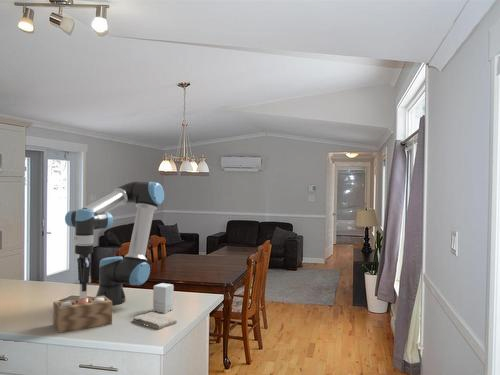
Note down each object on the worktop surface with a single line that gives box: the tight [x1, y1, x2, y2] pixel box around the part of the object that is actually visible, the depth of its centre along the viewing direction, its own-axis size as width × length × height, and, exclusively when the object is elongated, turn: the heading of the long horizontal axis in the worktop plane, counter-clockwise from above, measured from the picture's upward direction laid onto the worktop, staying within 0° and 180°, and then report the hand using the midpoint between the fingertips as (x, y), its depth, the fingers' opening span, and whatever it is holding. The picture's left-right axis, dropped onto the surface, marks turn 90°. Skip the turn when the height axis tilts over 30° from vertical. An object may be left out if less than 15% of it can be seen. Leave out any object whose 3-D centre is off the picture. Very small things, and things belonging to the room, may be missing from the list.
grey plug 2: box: [94, 298, 104, 302], centre depth 204 cm, size 4×4×9 cm
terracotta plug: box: [77, 297, 89, 304], centre depth 200 cm, size 4×4×9 cm
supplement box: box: [152, 282, 175, 314], centre depth 224 cm, size 7×7×13 cm
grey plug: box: [61, 302, 72, 306], centre depth 196 cm, size 4×4×9 cm
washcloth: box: [132, 311, 178, 330], centre depth 206 cm, size 12×18×3 cm, turn 55°
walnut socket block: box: [52, 296, 113, 333], centre depth 200 cm, size 22×12×10 cm, turn 125°
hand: (83, 298), depth 200 cm, fingers closed
